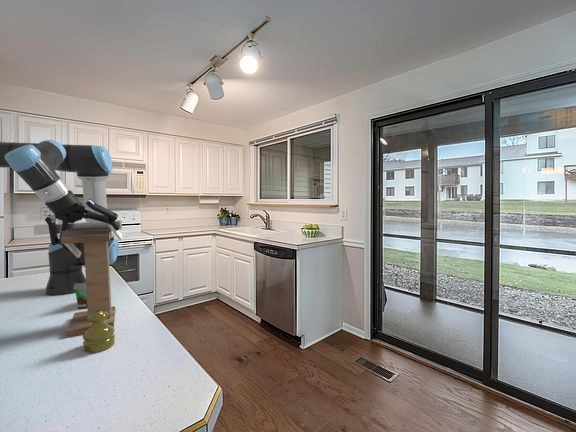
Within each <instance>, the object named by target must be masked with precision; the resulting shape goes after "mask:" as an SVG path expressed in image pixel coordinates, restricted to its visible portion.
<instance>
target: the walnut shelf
mask: <svg viewBox="0 0 576 432" xmlns="http://www.w3.org/2000/svg"><path fill="white" fill-rule="evenodd" d="M61 233H62V237H61V244H69V243H84V255H85V266H84V272H85V273H84V274H85V278H86V291H87V308H86V309H87V310H83V311H78V312H74V314H73V316H72V318H71V320H70V322H69V324H68V326H67V329H66V330H65V332H66V339H67V338H72V337H78V336H83V333H84V332H85V331H87V330H88V329H89V328H90V327H91V326H92V324H93V323H92V322H91V321H89V320H88V319H87V317H88V316H89V315H90V314H92V313H94V312H95V311H98V310H101V311H105V312H108V313H109V315H108V316H107V317H106V318H105V320H104V322H105V323H106V324H108V325H111V326H113V327H114V328H115V319H116V306H112V293H111V276H110V275H111V274H110V273H111V270H110V264H109V249H108V241H110V238H111V236H112V234H113V231H112V230H110V228H109V227H105V228H85V229H66V230H65V231H62V232H61Z"/></svg>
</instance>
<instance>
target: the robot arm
mask: <svg viewBox="0 0 576 432" xmlns="http://www.w3.org/2000/svg"><path fill="white" fill-rule="evenodd" d="M111 157H112V156H111V155H110V152H109V151H108V149H107V148H106V147H105V146H102V145H94V144H93V145H90V144H89V145H88V144H87V145H86V144H61V143H60V142H58V141H56V140H53V139H46V140H43V141H40V142H39V143H38V142H37V143H36V142H35V143H34V142H10V141H8V142H7V141H0V168H5V169H6V168H11V169H12V170H13V171H14V172H15V173H16V174H17V175H18V176H19V177H20V178H21V179H22V180H23V182H24V183H26V185H28V186H29V187H30V189H31V190H32V191H33V192H34V193H35V195H36V196H37V197H38V198H39V199H40V200H41V202H44V203H45V204H44V205H45V206H46V207H47V208H48V210H50V212H51V213H53V215H52V214H48V215H47V216H46V218H44V221H45V223H46V224H48V226H49V232H50V234H49V238H50V243H49V244H48V249H47V250H48V251H47V255H48V264H49V265H48V267H49V278H48V281H47V283H46V286H45V294H46V295H48V296H61V295H68V294H73V293H76V292H75V289H73V288H74V283H84V282H86V275H85V273H83V267H85V255H84V243H69V244H61V237H62V233H60V234H59V235H58V234H57V228H56V224H57V223H56V220H58V221H62V229H61V232H62V231H65V230H66V229H68V224H69V223H77V222H78V221H81V220H83V219H85V222H99V221H101V222H105V223H108V226H109V228H110V229H111V230H112V236H111V238H110V241H108V249H109V265H111V264H114V263H115V262H116V261H117V258H118V254H119V247H120V242H119V241H121V240H123V234H122V233H121V230H119V226H118V224H117V223H116V222H115V221H118V220H117V219H118V216H119V215H118V213H117V212H114V211H112V210H110V209H108V201H107V200H108V199H107V189H106V187H107V186H106V179H108V178H109V174H110V173H112V172H113V162H112V161H113V160H112V158H111ZM57 172H66V173H76V177H77V178H78V179H80V181H81V185H82V187H81V188H82V195H83V203H82V202H81V201H79V199H78V198H77V196H76V195H75V194H74V192H73V191H72V190H70V187H69V186H68V184H66V183H65V182H64V180H63V179H62V178H61V177H60V176H59V174H58V173H57ZM114 235H115V237H116V238H114Z"/></svg>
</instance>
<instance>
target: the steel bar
mask: <svg viewBox="0 0 576 432" xmlns="http://www.w3.org/2000/svg"><path fill="white" fill-rule="evenodd" d="M122 221H123V220H121V219H120V220H115V222H116V223H117V224H118V226H119V231H121V230H122V229H123V223H122ZM105 227H109V226H108V223H105V222H101V221H99V222H86V221H84V222H83V221H82V222H74V223H69V224H68V229H85V228H105ZM56 228H57V235H58V234H59V235H60V233H61V229H62V223H56ZM110 230H111V229H110ZM33 234H34V236H41V235H50V232H49V226H48V224H47V223H43V224H35V225H33Z"/></svg>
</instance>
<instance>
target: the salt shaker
mask: <svg viewBox="0 0 576 432" xmlns="http://www.w3.org/2000/svg"><path fill="white" fill-rule="evenodd" d="M108 315H109V313H108V312H105V311H101V310H98V311H95V312H94V313H92V314H90V315H89V316H88V317H87V319H88V320H89V321H91V322H92V323H93V324H92V326H91V327H90V328H89V329H88V330H87V331H85V332H84V333H83V335H82V339H83V342H82V344H83V352H84V353H89V354H91V353H92V354H93V353H99V352H103V351H105V350H108V349H111V347H113V345H115V343H116V337H115V336H116V335H115V334H114V333H115V326H114V327H113V326H111V325H108V324H106V323H105V322H104V320H105V318H106V317H107V316H108Z"/></svg>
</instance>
